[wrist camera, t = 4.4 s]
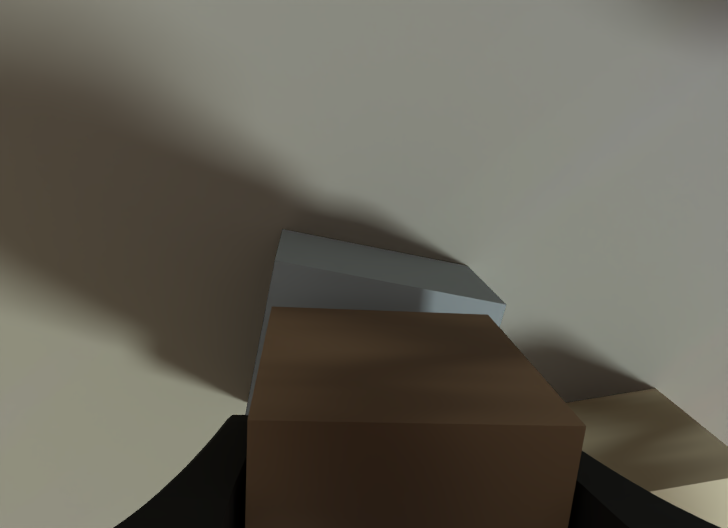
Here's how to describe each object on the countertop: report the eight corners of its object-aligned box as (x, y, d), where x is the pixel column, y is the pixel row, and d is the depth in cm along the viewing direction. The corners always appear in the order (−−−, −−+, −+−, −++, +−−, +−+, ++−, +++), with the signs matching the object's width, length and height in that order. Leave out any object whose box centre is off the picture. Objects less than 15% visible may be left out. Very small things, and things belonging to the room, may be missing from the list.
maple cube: (653, 387, 20) (759, 472, 16) (653, 506, 22) (750, 619, 17) (516, 409, 20) (581, 503, 15) (523, 528, 21) (585, 649, 17)
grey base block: (466, 264, 19) (506, 304, 15) (421, 427, 20) (447, 502, 16) (283, 227, 18) (274, 260, 14) (249, 400, 19) (234, 473, 15)
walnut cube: (488, 314, 13) (586, 426, 9) (464, 500, 15) (538, 688, 10) (271, 306, 13) (247, 420, 8) (265, 499, 14) (241, 698, 9)
